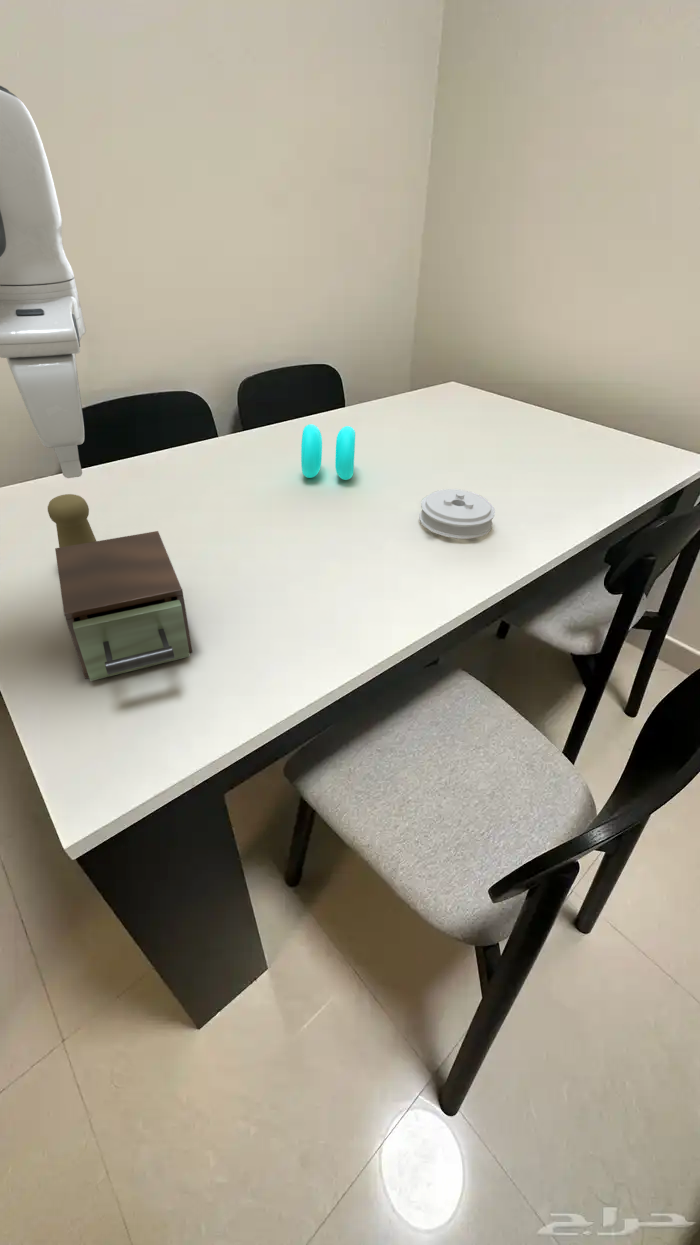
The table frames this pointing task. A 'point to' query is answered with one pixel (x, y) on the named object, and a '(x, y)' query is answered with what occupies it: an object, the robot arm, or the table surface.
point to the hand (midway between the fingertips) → (69, 457)
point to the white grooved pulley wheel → (457, 513)
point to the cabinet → (115, 578)
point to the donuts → (313, 452)
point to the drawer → (132, 637)
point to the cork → (71, 520)
